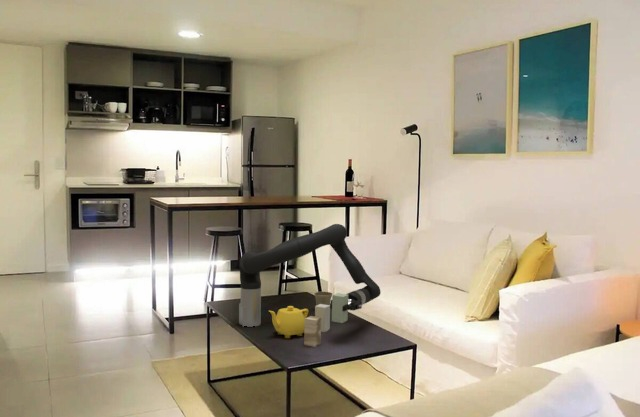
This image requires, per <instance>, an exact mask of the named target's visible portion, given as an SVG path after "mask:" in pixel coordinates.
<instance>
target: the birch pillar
mask: <svg viewBox="0 0 640 417" xmlns="http://www.w3.org/2000/svg"><path fill="white" fill-rule="evenodd" d="M303 337H304V338H303V339H304V340H303V341H304V342H303V344H304V346H307V347H313V348H316V347H318V346H320V345H321V343H322V340H321V339H322V332H321V317H315V315H309V316H307V317H306V318H305V329H304V335H303Z"/></svg>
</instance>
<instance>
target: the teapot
mask: <svg viewBox="0 0 640 417" xmlns="http://www.w3.org/2000/svg"><path fill="white" fill-rule="evenodd" d="M268 312H270V314H271V322H272V325H273V327H274V329H275V331H276V332H277V335H284V338H285V339H290V338H291V336H295V335H296V336H297V337H302V336H303V333H304V329H305V318H307V317H308V314H309V309H308V308H303V309H299V308H296V307H294V306H293V305H288V306H287V307H285V308H284V307H283V308H280V309H278V311H277V313H276V312H275V311H273V310H268Z"/></svg>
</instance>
